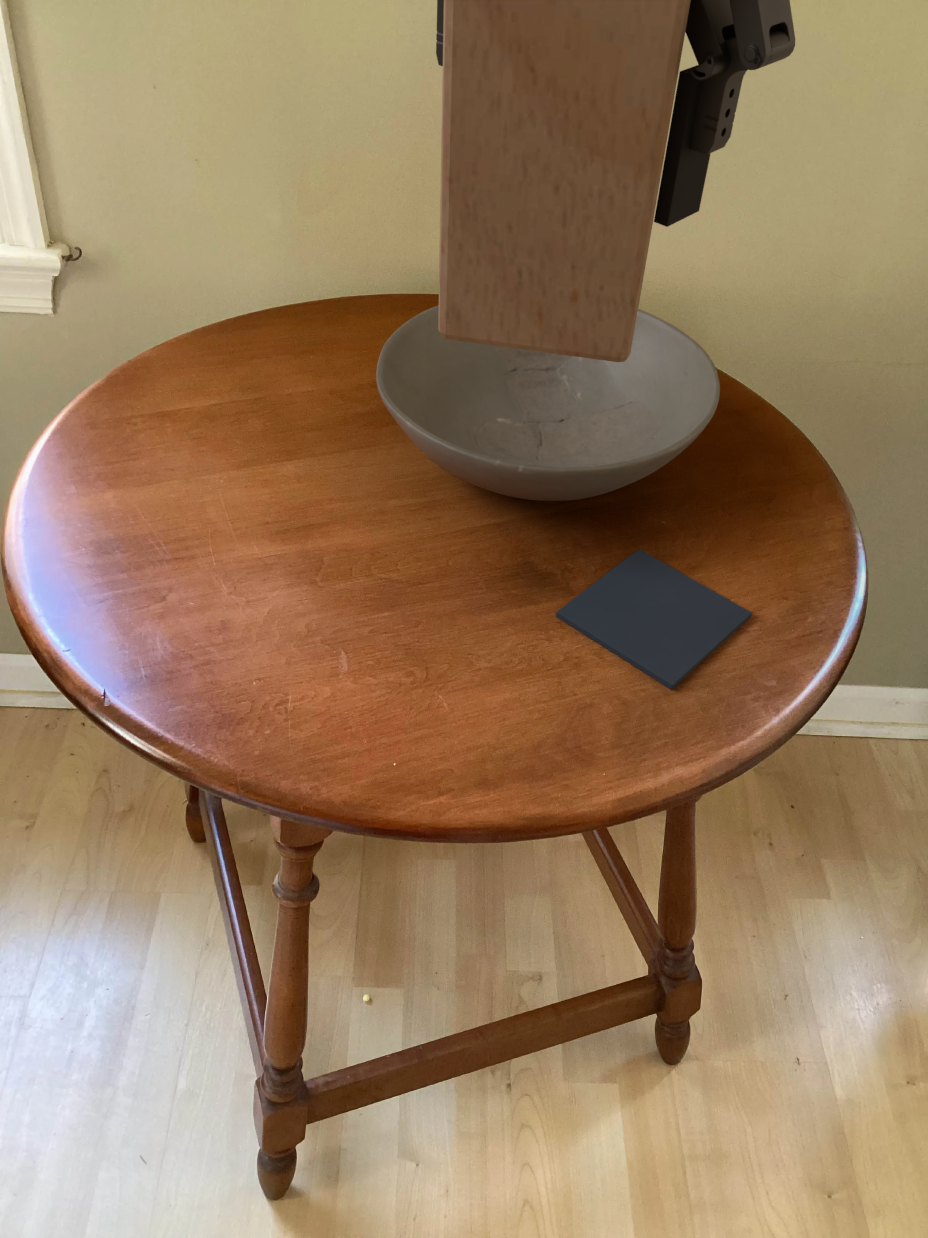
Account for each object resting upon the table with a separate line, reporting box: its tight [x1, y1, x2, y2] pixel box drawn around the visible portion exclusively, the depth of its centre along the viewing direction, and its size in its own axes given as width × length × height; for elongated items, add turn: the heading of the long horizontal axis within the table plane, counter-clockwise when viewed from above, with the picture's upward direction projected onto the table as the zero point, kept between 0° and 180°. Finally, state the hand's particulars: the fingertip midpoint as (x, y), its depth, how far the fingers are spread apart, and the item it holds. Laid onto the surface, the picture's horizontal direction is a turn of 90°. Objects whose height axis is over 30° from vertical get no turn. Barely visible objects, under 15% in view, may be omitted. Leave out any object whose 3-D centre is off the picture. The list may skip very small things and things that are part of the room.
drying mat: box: [555, 548, 753, 690], centre depth 74 cm, size 10×10×1 cm
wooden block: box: [438, 0, 691, 362], centre depth 50 cm, size 10×10×20 cm
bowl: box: [375, 304, 721, 502], centre depth 86 cm, size 27×28×8 cm
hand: (564, 175), depth 53 cm, fingers closed on wooden block, 13 cm apart
